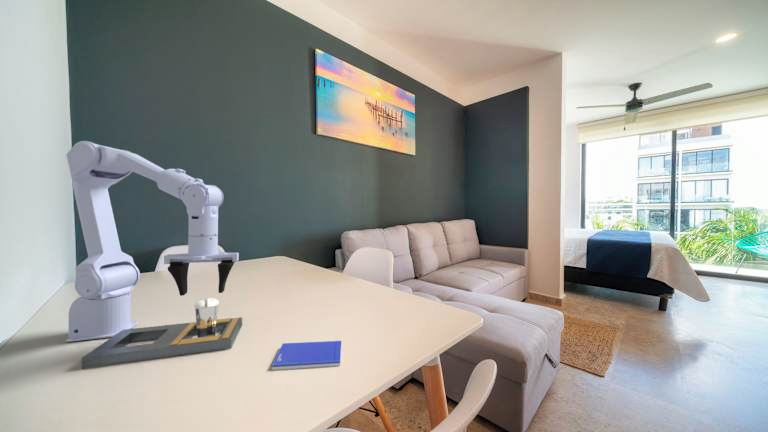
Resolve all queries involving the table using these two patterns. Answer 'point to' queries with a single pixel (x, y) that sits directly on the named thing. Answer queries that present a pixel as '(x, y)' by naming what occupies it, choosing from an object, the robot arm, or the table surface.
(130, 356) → the grey slotted plate
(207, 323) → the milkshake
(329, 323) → the table surface
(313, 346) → the hard drive
